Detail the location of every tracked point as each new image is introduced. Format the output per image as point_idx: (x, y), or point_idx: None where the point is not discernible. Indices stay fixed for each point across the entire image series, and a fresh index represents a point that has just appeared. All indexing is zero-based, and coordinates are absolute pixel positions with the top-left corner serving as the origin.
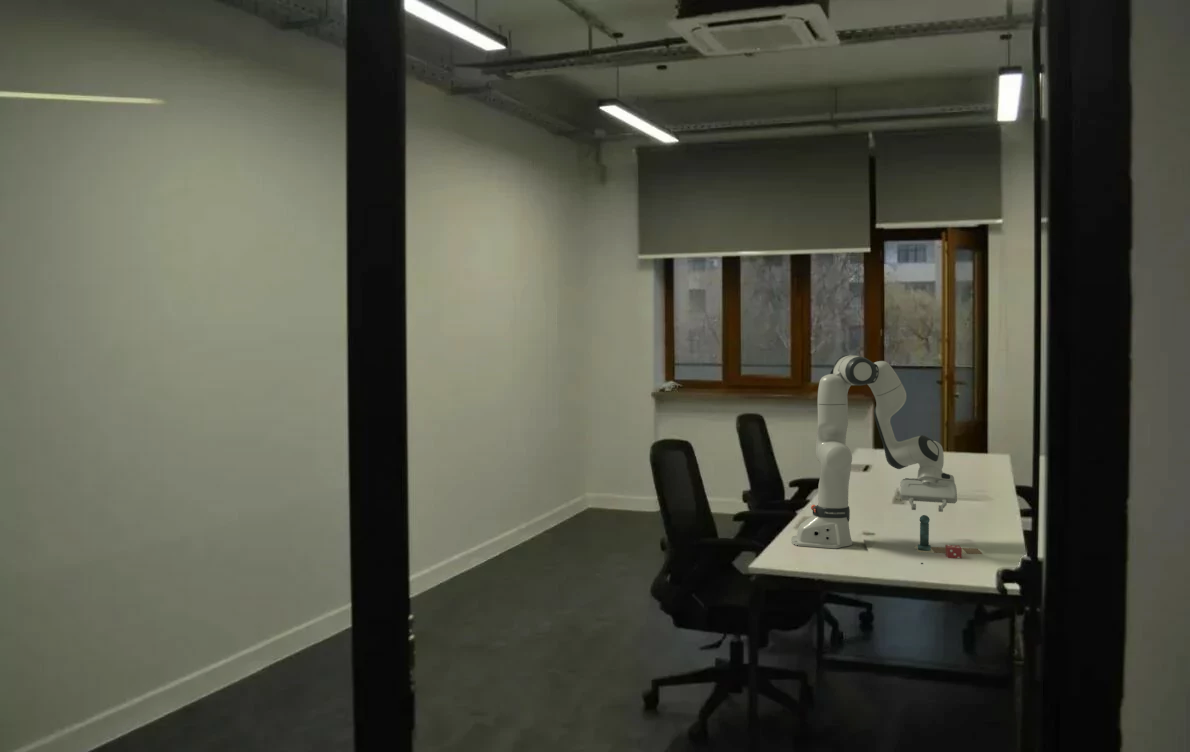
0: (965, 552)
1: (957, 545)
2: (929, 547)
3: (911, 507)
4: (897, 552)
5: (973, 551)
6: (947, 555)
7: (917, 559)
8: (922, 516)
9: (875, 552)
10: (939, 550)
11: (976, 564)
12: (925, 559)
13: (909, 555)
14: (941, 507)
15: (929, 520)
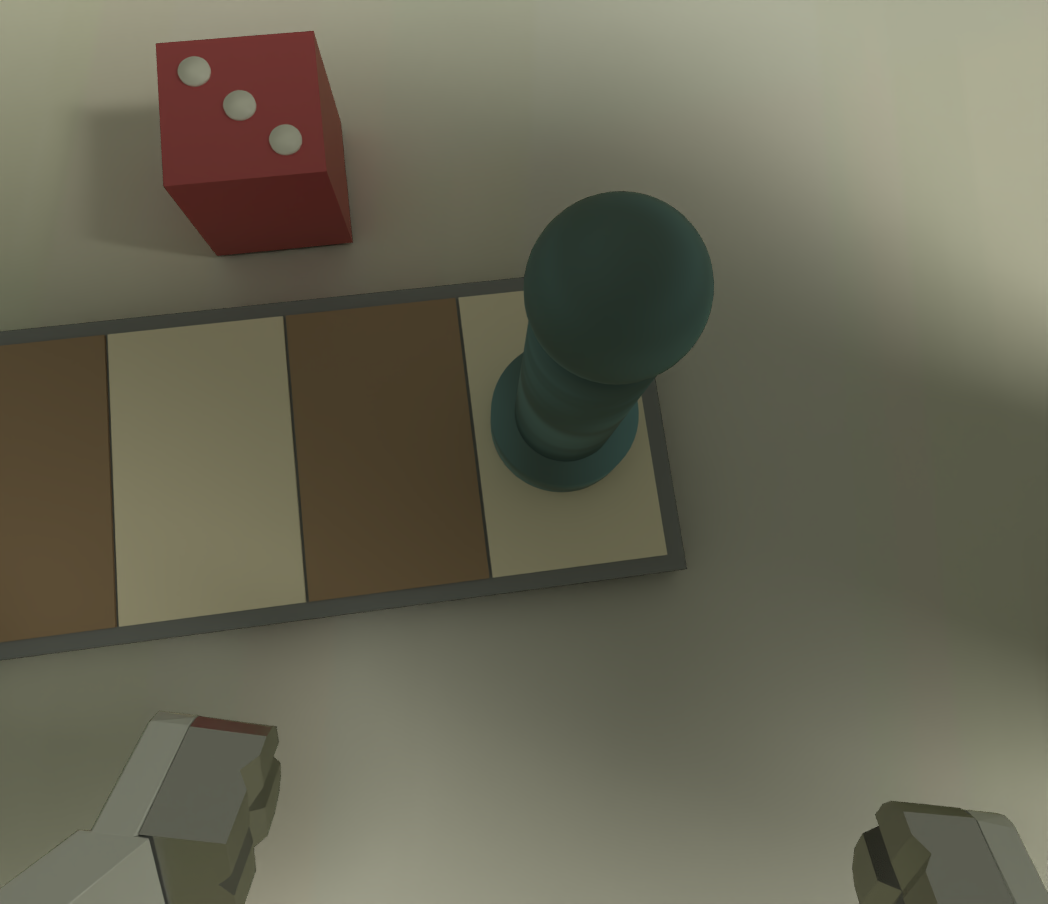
0: (112, 390)
1: (184, 173)
2: (506, 368)
3: (999, 815)
4: (825, 379)
5: (8, 464)
6: (334, 118)
7: (625, 133)
8: (673, 217)
9: (1034, 323)
10: (395, 414)
11: (82, 66)
12: (551, 150)
13: None
14: (167, 757)
15: (525, 275)
